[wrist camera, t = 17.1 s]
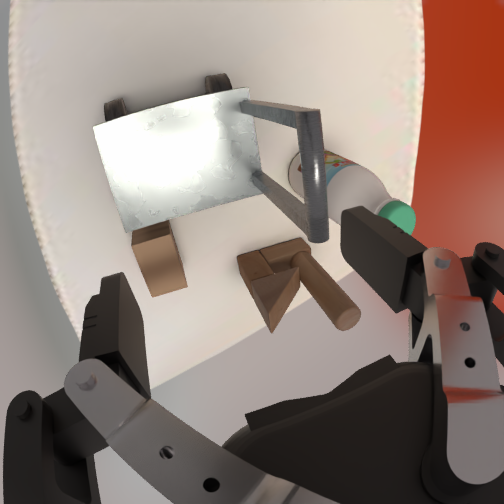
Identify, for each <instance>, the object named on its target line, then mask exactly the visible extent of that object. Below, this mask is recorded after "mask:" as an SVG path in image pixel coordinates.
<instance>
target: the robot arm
mask: <svg viewBox="0 0 504 504" xmlns="http://www.w3.org/2000/svg"><path fill="white" fill-rule="evenodd" d="M340 246H341V252H342V255H343V257H344V259H345V261H346V262H347V263H348V264H349V265H350V266H351V267H352V268H353V269H354V270H355V271H356V272H357V273H358V274H359V275H360V276H361V277H362V278H363V279H364V280H365V281H366V282H367V283H368V284H369V285H370V286H371V287H372V288H373V290H375V292H376V293H377V294H378V295H379V296H380V297H381V298H382V299H383V300H384V301H385V302H386V303H387V304H388V305H389V306H390V308H392V310H393V311H394V312H395V313H398V312H400V311H403V310H405V309H407V308H408V309H409V310H410V314H409V358H408V362H401V363H396V362H395V361H394V359H393V358H392V357H391V356H390V355H388V356H386V357H384V358H382V359H380V360H378V361H376V362H374V363H372V364H370V365H368V366H366V367H363V368H361V369H359V370H358V371H356V372H355V373H354V374H353V375H351V376H350V377H349V378H348V379H346V380H345V381H344V382H342V383H341V384H340V385H339V386H337V387H336V388H335V389H333V390H332V391H331V392H329V393H327V394H324V395H318V396H313V397H306V398H300V399H293V400H286V401H282V402H279V403H276V404H274V405H271V406H268V407H265V408H262V409H259V410H256V411H253V412H250V413H247V414H245V417H246V420H247V423H248V425H246V426H245V427H243V428H241V429H240V430H239V431H237V432H236V433H235V434H233V435H232V436H231V437H230V438H229V439H228V440H227V441H226V442H225V443H224V444H223V445H222V447H221V446H219V445H217V444H216V443H214V442H213V441H211V440H210V439H208V438H206V437H205V436H204V435H202V434H200V433H199V432H197V431H196V430H195V429H193V428H192V427H190V426H189V425H187V424H186V423H184V422H183V421H182V420H180V419H179V418H177V417H176V416H175V415H173V414H172V413H171V412H169V411H168V410H166V409H165V408H164V407H162V406H161V405H160V404H159V403H157V402H156V401H154V400H153V399H151V393H150V385H149V376H148V368H147V358H146V348H145V336H144V324H143V318H142V314H141V311H140V308H139V306H138V303H137V301H136V299H135V297H134V295H133V292H132V290H131V288H130V286H129V283H128V281H127V279H126V277H125V275H124V273H123V272H120V273H117V274H113V275H110V276H106V277H103V278H102V280H101V287H100V294H97V295H94V296H92V297H91V299H90V301H89V302H88V304H87V306H86V307H85V314H84V321H83V330H82V336H81V346H80V354H79V363H77V364H76V365H74V366H73V367H72V368H71V369H70V371H69V372H68V374H67V375H66V378H65V381H64V387H63V388H62V389H60V390H59V391H57V392H55V393H53V394H51V395H49V396H47V397H45V398H42V397H41V396H39V394H38V393H36V392H34V391H30V390H28V391H24V392H21V393H19V394H18V395H17V396H16V397H15V398H14V399H13V400H12V401H11V403H10V405H9V407H8V410H7V416H6V426H5V439H4V456H3V457H4V459H3V495H4V504H101V500H100V494H99V489H98V483H97V476H96V469H95V462H94V454H95V453H96V452H98V451H100V450H102V449H104V448H106V447H108V446H110V447H111V448H112V449H113V450H114V451H115V452H116V453H117V454H118V455H119V456H120V457H121V458H122V459H123V460H124V461H125V462H126V463H127V464H128V465H129V466H131V467H132V468H133V469H134V470H135V471H136V472H137V473H138V474H139V475H140V476H142V477H143V478H144V479H145V480H146V481H147V482H148V483H149V484H150V485H152V486H153V487H154V488H155V489H156V490H157V491H159V492H160V493H161V494H162V495H164V496H165V497H166V498H167V499H168V500H170V501H171V502H172V503H174V504H504V386H503V385H500V383H499V376H498V370H497V364H496V358H497V359H498V360H499V362H500V363H501V364H502V365H503V367H504V314H503V313H502V312H501V311H500V310H499V309H498V308H497V307H496V306H495V305H494V304H493V303H492V301H493V299H494V297H495V294H496V292H497V289H498V290H499V291H500V292H501V293H502V294H503V295H504V250H503V249H502V248H501V247H499V246H497V245H495V244H492V243H488V242H483V243H479V244H477V245H476V247H475V250H474V254H473V256H472V257H464V258H459V256H458V255H457V254H455V253H454V252H452V251H451V250H448V249H444V248H439V247H434V248H430V249H428V248H427V247H425V246H424V245H423V244H421V243H420V242H419V241H417V240H416V239H415V238H413V237H412V236H411V235H409V234H408V233H407V232H404V230H402V229H401V228H400V227H397V225H396V224H394V223H393V222H391V221H390V220H389V219H386V218H384V217H381V216H378V215H375V214H374V213H372V212H371V211H369V210H368V209H366V208H365V207H364V206H356V207H353V208H349V209H345V210H343V211H342V213H341V243H340ZM495 357H496V358H495Z"/></svg>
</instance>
